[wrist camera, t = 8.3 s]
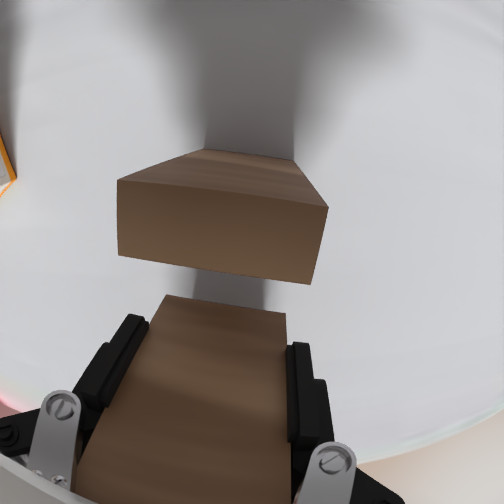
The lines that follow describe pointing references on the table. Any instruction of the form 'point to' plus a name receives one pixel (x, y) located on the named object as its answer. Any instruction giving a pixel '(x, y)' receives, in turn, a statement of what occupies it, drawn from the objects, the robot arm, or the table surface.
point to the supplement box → (5, 170)
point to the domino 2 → (196, 413)
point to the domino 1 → (223, 215)
